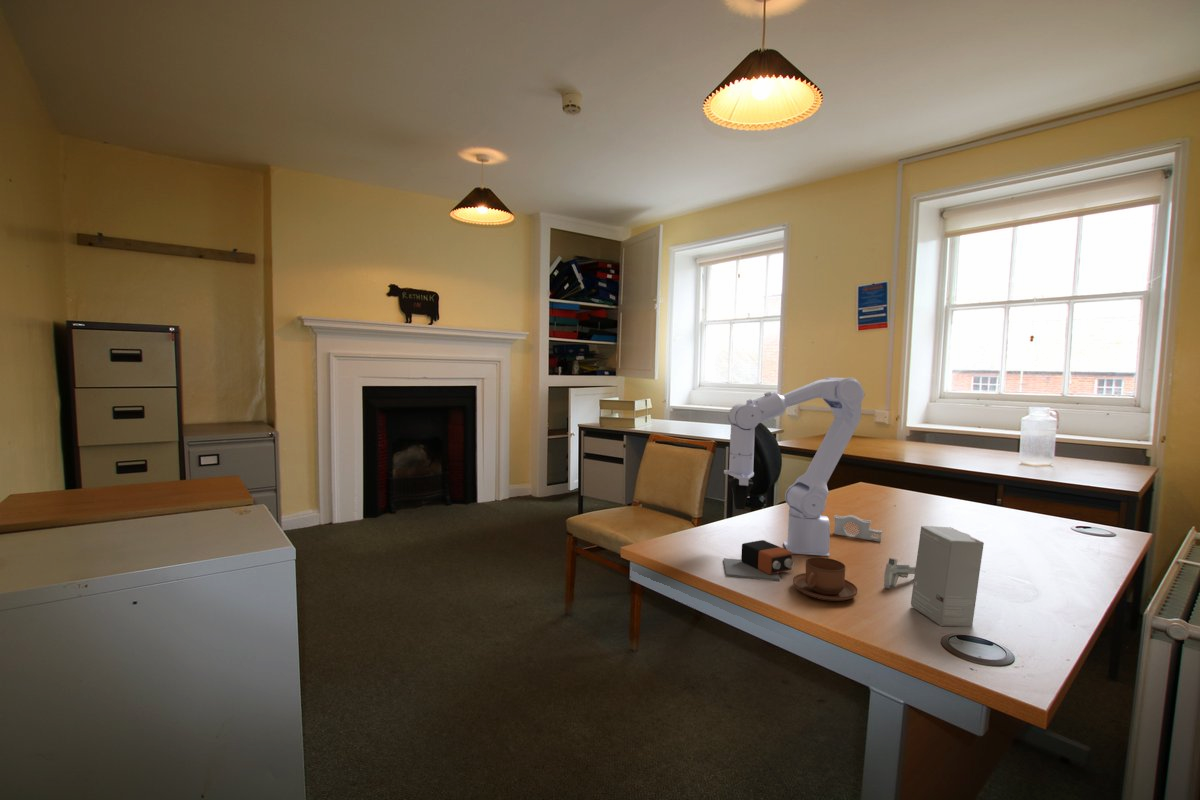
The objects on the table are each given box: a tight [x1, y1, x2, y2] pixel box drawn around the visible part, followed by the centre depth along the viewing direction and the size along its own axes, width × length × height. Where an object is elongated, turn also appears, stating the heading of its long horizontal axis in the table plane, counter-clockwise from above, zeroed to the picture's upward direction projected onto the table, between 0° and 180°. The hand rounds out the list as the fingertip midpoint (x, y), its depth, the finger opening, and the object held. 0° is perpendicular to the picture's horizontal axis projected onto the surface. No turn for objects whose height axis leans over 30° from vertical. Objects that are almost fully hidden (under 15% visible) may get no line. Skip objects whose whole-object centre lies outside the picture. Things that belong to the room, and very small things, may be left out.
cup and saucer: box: [792, 556, 858, 602], centre depth 108 cm, size 12×12×6 cm
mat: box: [723, 557, 781, 582], centre depth 120 cm, size 11×10×1 cm
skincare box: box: [910, 525, 985, 627], centre depth 98 cm, size 8×7×16 cm
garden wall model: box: [833, 514, 884, 543], centre depth 145 cm, size 12×2×6 cm, turn 57°
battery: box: [740, 539, 794, 575], centre depth 120 cm, size 4×7×10 cm
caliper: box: [883, 557, 916, 590], centre depth 116 cm, size 21×1×6 cm, turn 121°
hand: (739, 508), depth 132 cm, fingers closed
